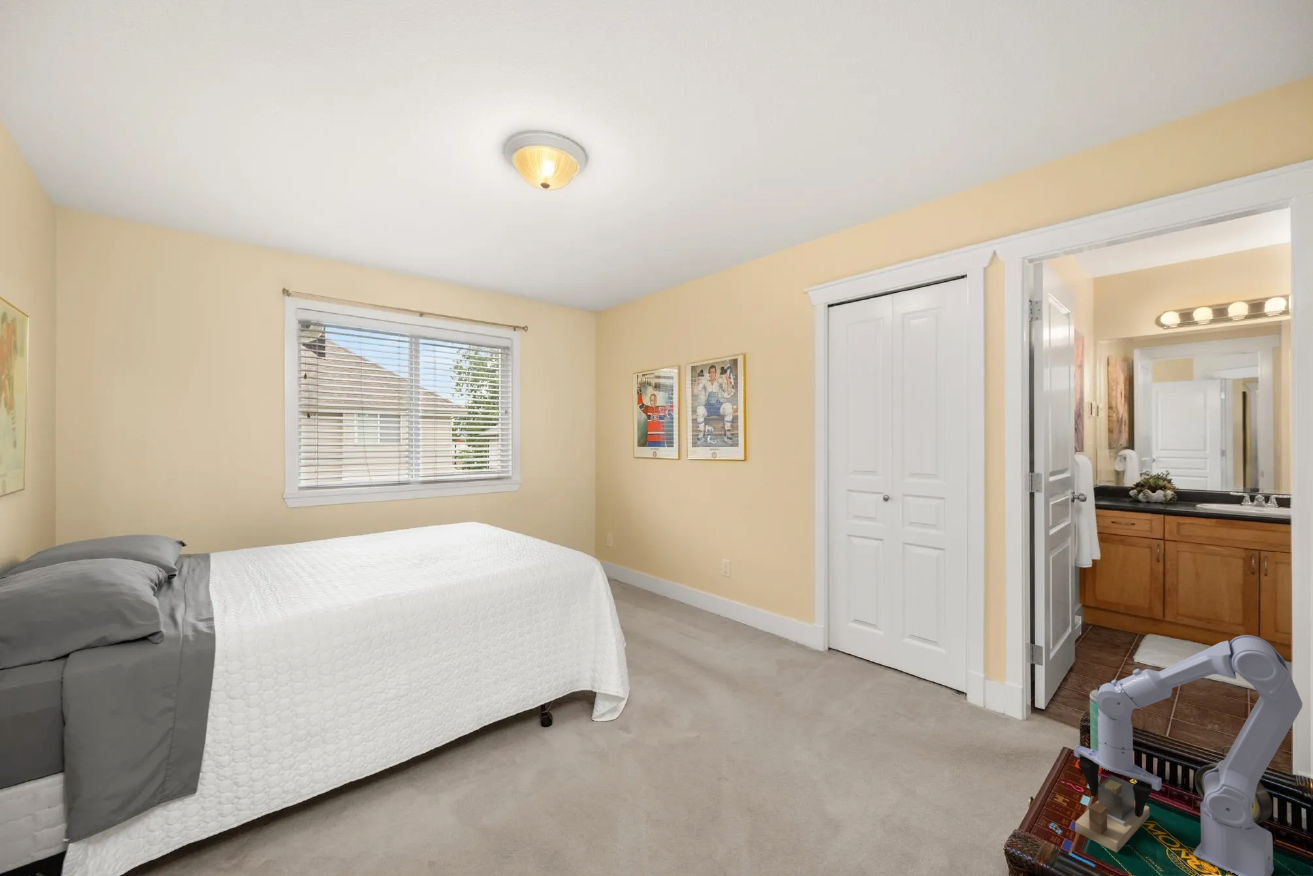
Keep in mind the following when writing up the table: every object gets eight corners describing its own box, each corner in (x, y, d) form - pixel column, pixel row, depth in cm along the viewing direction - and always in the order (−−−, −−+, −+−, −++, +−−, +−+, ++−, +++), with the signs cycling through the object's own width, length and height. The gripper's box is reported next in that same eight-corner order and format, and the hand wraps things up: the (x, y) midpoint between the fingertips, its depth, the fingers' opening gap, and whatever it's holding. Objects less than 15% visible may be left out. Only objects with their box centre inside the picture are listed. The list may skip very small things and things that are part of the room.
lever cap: (1134, 807, 117) (1133, 781, 117) (1121, 820, 113) (1121, 793, 113) (1111, 797, 120) (1110, 771, 120) (1098, 809, 117) (1098, 783, 117)
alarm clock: (1193, 808, 120) (1192, 736, 119) (1209, 803, 121) (1208, 731, 121) (1261, 844, 109) (1260, 765, 109) (1277, 837, 111) (1276, 759, 110)
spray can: (1124, 772, 132) (1123, 691, 132) (1098, 770, 134) (1097, 690, 133) (1110, 759, 138) (1109, 681, 138) (1086, 757, 139) (1084, 679, 139)
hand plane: (1149, 816, 118) (1148, 786, 118) (1116, 852, 108) (1116, 820, 108) (1109, 798, 124) (1109, 770, 124) (1075, 831, 114) (1074, 800, 114)
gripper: (1166, 752, 113) (1167, 816, 113) (1082, 721, 125) (1084, 779, 125) (1154, 764, 109) (1155, 830, 109) (1069, 731, 121) (1070, 791, 121)
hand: (1116, 804), depth 117 cm, fingers open, 7 cm apart
